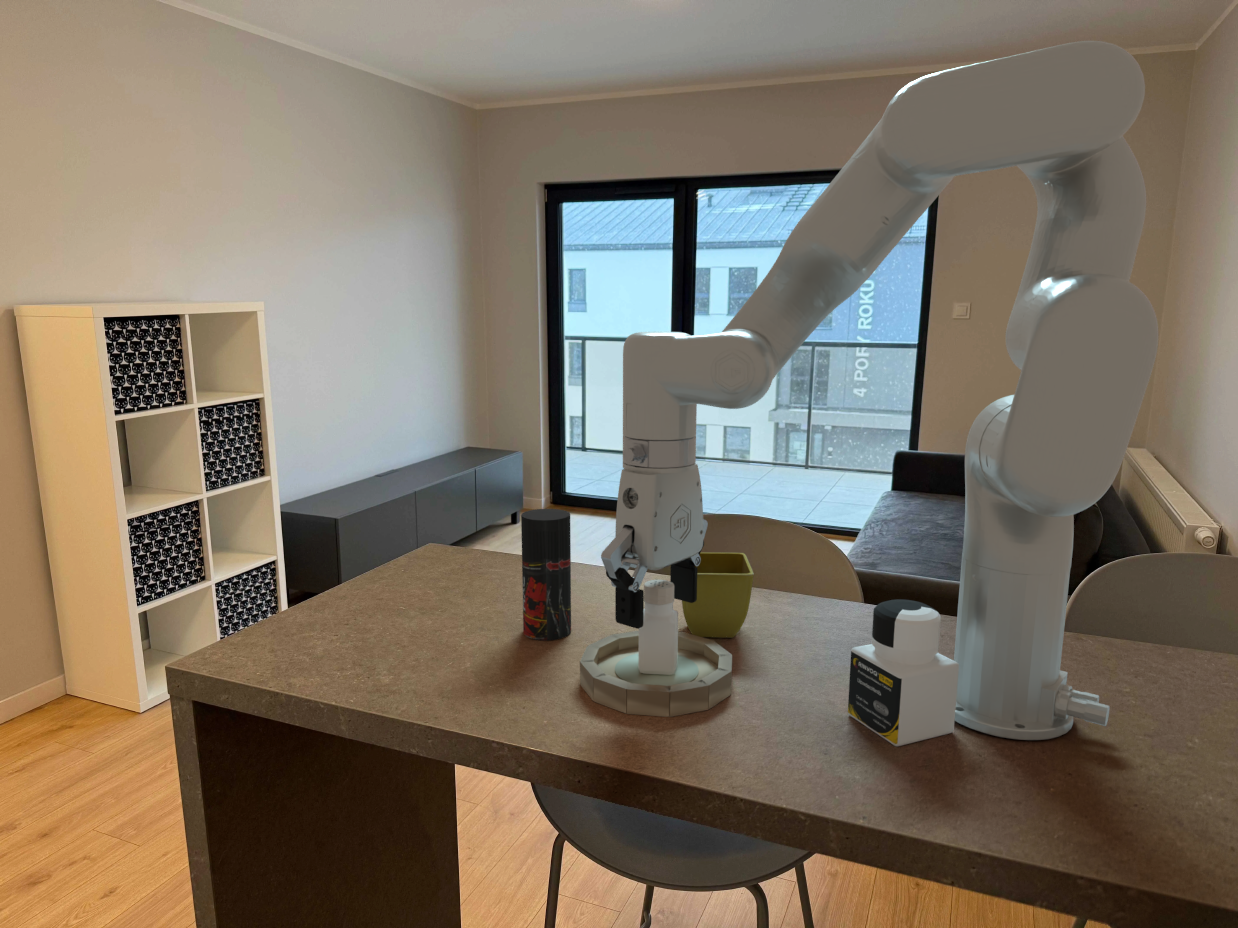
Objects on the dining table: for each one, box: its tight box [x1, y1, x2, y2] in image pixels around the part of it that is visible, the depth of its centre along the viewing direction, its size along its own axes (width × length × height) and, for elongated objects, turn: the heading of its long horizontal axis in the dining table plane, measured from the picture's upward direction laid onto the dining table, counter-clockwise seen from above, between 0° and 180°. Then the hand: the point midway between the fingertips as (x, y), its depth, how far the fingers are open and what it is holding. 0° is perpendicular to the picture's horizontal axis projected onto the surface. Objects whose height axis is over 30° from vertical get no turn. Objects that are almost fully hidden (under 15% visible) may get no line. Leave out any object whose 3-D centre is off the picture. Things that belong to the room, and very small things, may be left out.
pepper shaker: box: [638, 579, 679, 675], centre depth 90 cm, size 4×4×10 cm
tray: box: [579, 630, 733, 718], centre depth 90 cm, size 16×16×3 cm
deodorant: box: [520, 508, 572, 642], centre depth 103 cm, size 6×6×15 cm
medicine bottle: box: [847, 598, 959, 747], centre depth 80 cm, size 7×7×12 cm
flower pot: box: [681, 551, 755, 639], centre depth 104 cm, size 9×9×9 cm
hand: (657, 611), depth 89 cm, fingers open, 9 cm apart
